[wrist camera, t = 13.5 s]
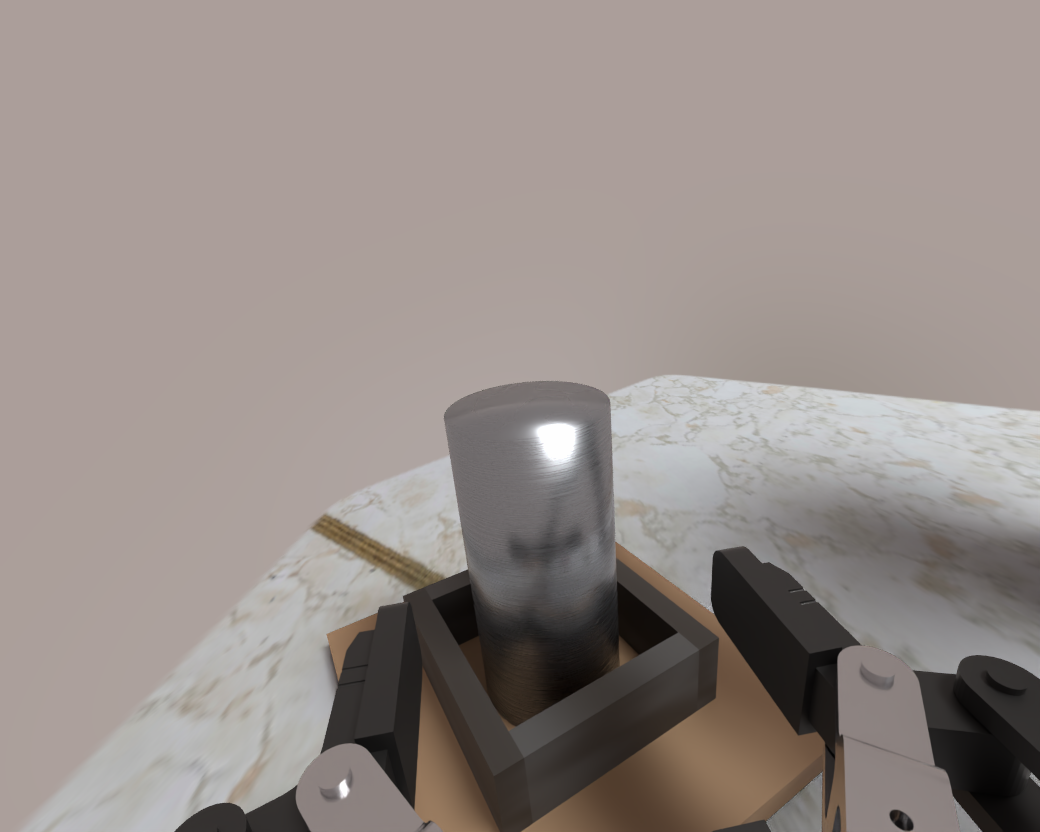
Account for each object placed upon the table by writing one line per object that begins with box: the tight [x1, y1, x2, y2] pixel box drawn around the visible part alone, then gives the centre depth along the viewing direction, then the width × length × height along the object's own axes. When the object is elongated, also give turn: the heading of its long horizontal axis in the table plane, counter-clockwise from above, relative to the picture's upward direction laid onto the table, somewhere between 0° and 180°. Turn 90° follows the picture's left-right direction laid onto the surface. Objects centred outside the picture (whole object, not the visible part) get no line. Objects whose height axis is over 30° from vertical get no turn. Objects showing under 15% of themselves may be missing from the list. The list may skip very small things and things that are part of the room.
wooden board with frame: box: [327, 542, 824, 832], centre depth 21 cm, size 16×16×4 cm
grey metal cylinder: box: [444, 381, 620, 726], centre depth 19 cm, size 6×6×12 cm
